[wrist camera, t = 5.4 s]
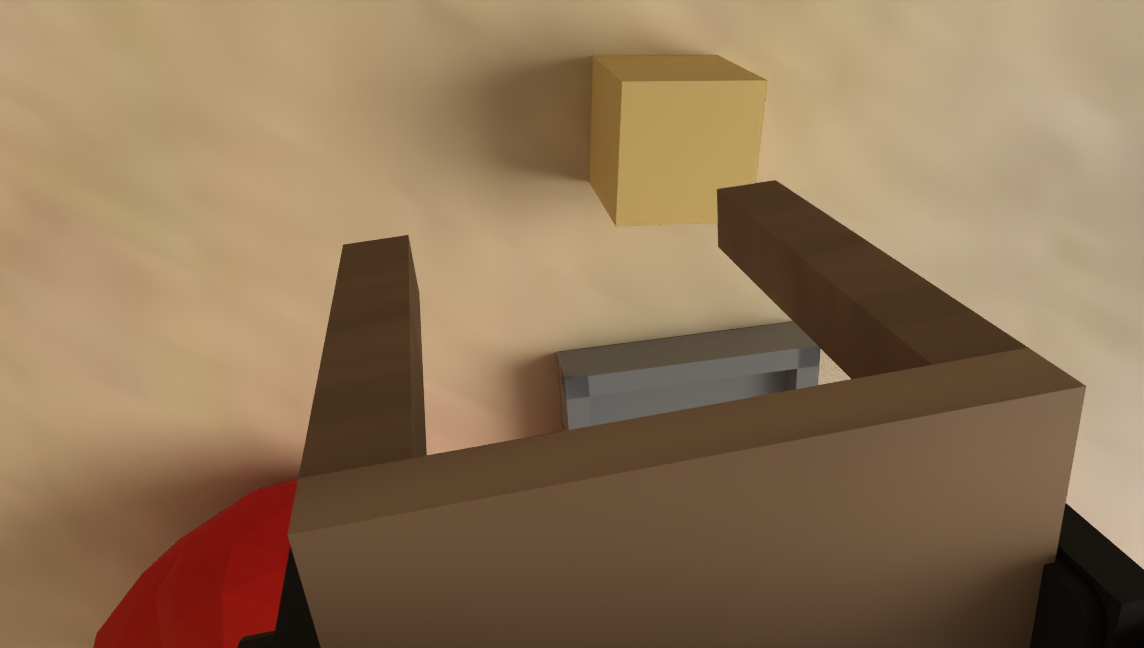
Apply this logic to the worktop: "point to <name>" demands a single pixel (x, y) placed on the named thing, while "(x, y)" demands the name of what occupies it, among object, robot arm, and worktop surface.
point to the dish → (683, 373)
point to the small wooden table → (698, 479)
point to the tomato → (211, 580)
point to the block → (672, 135)
